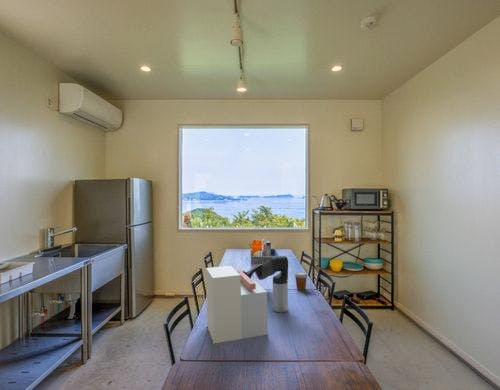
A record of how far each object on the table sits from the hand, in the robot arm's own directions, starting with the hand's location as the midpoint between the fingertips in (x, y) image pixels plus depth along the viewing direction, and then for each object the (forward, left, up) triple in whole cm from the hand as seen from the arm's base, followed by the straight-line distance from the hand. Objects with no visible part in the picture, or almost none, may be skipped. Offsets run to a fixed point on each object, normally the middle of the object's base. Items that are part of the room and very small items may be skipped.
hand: (241, 272), depth 170 cm
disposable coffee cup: (-34, +56, -27) cm, 71 cm away
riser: (+13, -7, -26) cm, 30 cm away
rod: (+7, 0, -3) cm, 8 cm away
